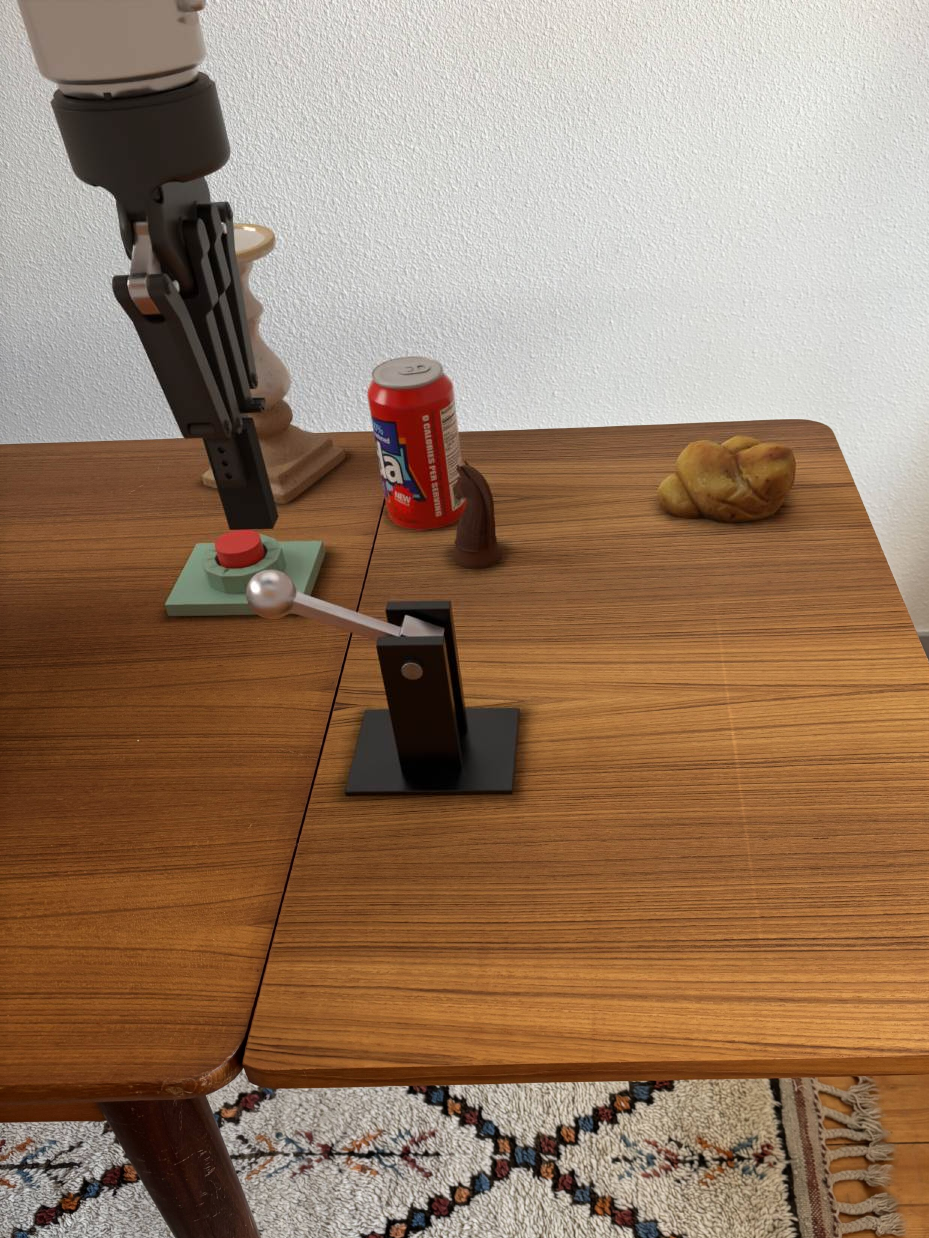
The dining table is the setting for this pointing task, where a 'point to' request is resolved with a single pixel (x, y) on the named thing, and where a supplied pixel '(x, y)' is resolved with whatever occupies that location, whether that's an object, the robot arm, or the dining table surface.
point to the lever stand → (430, 721)
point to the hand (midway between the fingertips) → (254, 522)
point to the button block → (240, 577)
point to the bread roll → (729, 480)
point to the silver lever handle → (324, 609)
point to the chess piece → (475, 521)
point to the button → (239, 549)
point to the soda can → (416, 441)
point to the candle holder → (276, 392)
